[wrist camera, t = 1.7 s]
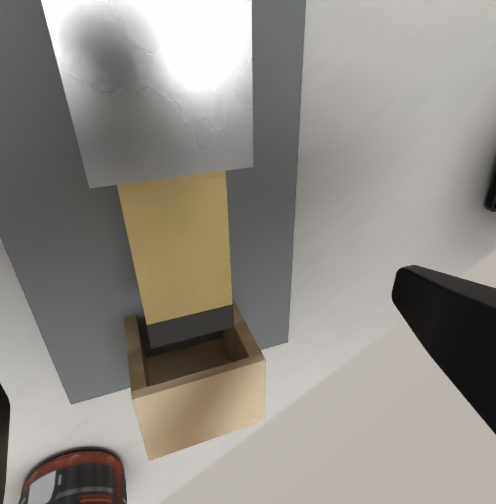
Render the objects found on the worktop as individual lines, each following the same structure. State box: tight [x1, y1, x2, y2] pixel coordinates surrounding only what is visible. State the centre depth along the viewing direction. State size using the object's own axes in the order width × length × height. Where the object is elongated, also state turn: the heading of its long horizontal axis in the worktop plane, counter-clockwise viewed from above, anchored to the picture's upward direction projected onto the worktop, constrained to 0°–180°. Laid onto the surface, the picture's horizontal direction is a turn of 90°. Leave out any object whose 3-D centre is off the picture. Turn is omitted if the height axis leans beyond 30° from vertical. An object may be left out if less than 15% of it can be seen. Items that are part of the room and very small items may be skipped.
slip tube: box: [117, 171, 234, 349], centre depth 12 cm, size 3×14×3 cm, turn 1°
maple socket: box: [124, 298, 266, 461], centre depth 18 cm, size 6×4×5 cm
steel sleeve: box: [41, 0, 253, 188], centre depth 10 cm, size 5×8×5 cm, turn 1°
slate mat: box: [0, 0, 306, 404], centre depth 16 cm, size 13×22×1 cm, turn 1°
